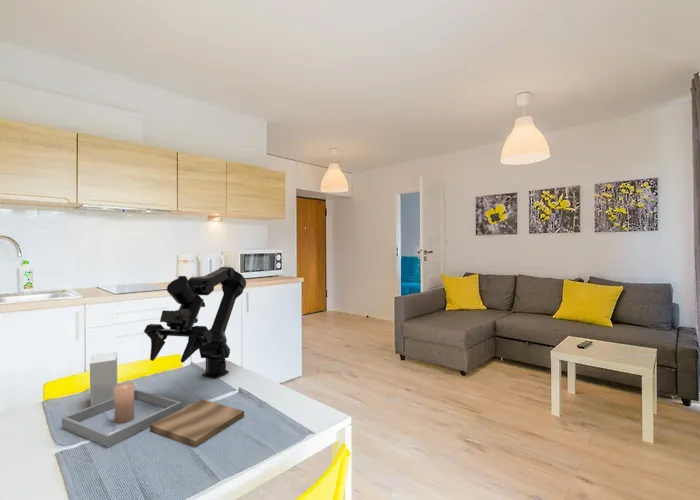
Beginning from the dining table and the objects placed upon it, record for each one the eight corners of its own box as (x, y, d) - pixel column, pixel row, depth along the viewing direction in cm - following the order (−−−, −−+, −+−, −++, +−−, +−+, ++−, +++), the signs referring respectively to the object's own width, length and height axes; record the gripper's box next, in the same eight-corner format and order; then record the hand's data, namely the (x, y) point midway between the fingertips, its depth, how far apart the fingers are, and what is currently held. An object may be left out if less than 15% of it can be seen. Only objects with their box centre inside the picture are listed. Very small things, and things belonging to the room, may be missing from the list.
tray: (62, 427, 89) (61, 417, 89) (136, 397, 107) (136, 389, 107) (108, 447, 81) (108, 436, 81) (181, 411, 98) (181, 402, 98)
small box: (92, 398, 106) (92, 355, 106) (118, 393, 110) (117, 351, 109) (89, 409, 99) (89, 363, 99) (116, 403, 103) (116, 359, 102)
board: (149, 430, 88) (149, 424, 88) (201, 404, 103) (201, 399, 103) (195, 447, 81) (195, 440, 81) (244, 416, 96) (244, 411, 96)
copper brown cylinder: (110, 420, 93) (110, 387, 93) (127, 413, 97) (127, 381, 97) (121, 424, 91) (120, 390, 91) (137, 417, 95) (137, 384, 95)
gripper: (146, 297, 104) (119, 347, 94) (206, 299, 101) (184, 350, 91) (165, 316, 112) (142, 363, 102) (220, 318, 110) (202, 367, 100)
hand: (166, 361), depth 99 cm, fingers open, 9 cm apart
